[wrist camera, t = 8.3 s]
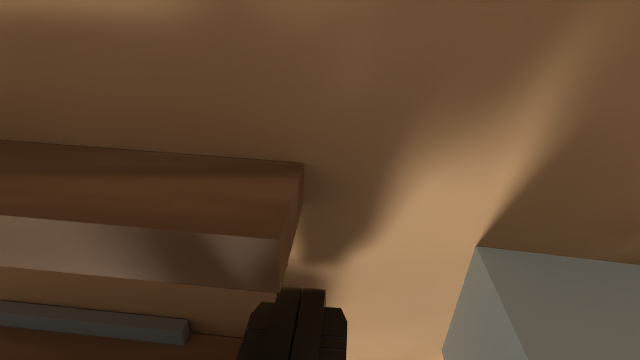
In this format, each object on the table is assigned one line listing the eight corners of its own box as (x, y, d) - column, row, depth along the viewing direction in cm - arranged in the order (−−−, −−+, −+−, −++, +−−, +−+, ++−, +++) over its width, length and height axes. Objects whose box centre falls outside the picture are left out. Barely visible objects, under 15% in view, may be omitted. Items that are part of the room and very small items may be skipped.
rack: (-119, 131, 12) (-479, 237, 7) (303, 163, 12) (256, 311, 6) (-16, 335, 17) (-191, 496, 11) (298, 369, 16) (268, 562, 11)
